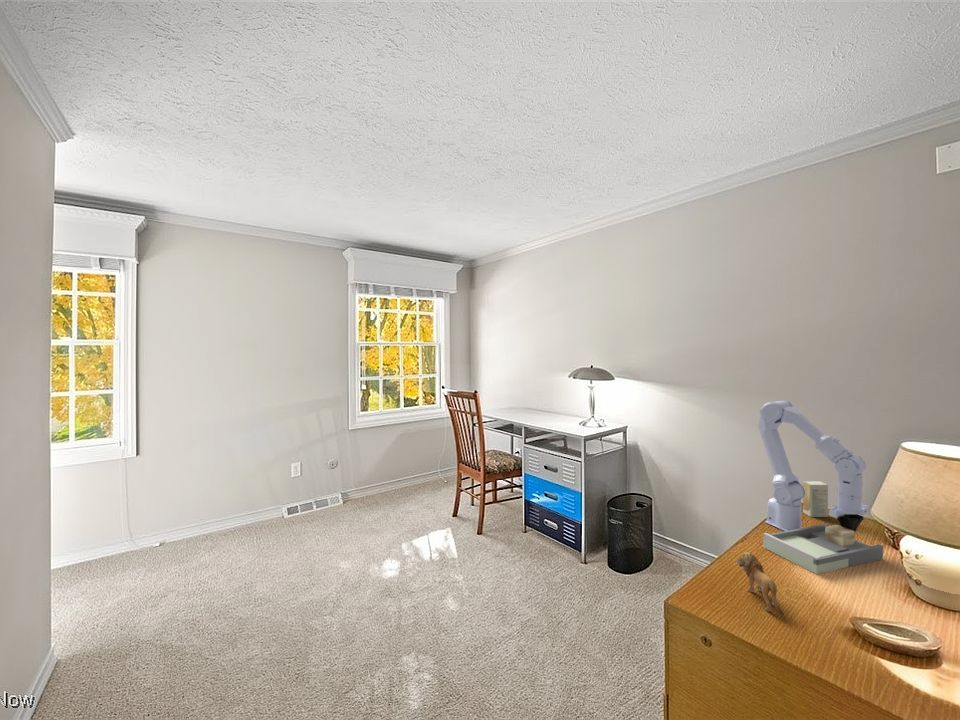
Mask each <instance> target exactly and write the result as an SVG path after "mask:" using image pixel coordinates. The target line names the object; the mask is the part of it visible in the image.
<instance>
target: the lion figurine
mask: <svg viewBox="0 0 960 720" xmlns="http://www.w3.org/2000/svg"><path fill="white" fill-rule="evenodd" d="M742 554H743V555H741V556H740V557H739V558H736V559H735V562H736V563H737V565H738V566H739V568H741V567H742V570H743V571H744V572H745V573H746V576H747V578H748V582H749V583H748V584H749V587H748V588H747V592H750V593H754V592H755V586H754V585H755V584H757V587H756V590H757V591H758V592H762V596H763V599H764V602H765V603H766V607H765V608H764V609H765V611H766V612H772V606H774V607H775V609H776V611H777V612H778V614H780V615H782V616H783V615H784V612H783V611H782V610H781V609H780V608H779V607H778V603H777V602H778V601H777V591H778V590H777V585H776V582H775V581H774V579H773V578H771V577H769V576H768V575H767V573H765V571H764V568H763V565H762V564H761V562H760V561H759V560H758V559H757V557H756V556H754V554H752V552H751V553H750V552H747V551H745V552H743V553H742ZM769 593H770V594H771V598H772V601H771V602H770V600H769Z"/></svg>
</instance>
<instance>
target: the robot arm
mask: <svg viewBox="0 0 960 720" xmlns="http://www.w3.org/2000/svg"><path fill="white" fill-rule="evenodd" d="M759 413H760V416H759V419H758V425H757V426H758V430H759V433H760V436H761V439H762V443H763V445H764V449H765V452H766V454H767V457H768V460H769V464H770V467H771V470H772V472H773V479H772V481H771V484H772V486H773V487H772V488H773V489H772V496H773V497H771V498H770V499H769V500H768V501H767V505H766V506H767V507H766V520H765V521H764V522H765V524H768V525H770V526H773V527H774V528H776V529H777V528H778V529H779V530H781V531H788V530H793V529H799V528H804V527H803V526H802V512H803V505H802V504H803V502H802V499H803V497H804V496H805V489H804V487H803V484H802V483H800V481H799V477H798V476H797V475H795V474H794V473H793V471H792V468H791V465H790V462H789V459H788V456H787V453H786V450H785V447H784V445H783V442H782V441H783V440H782V439H781V436H780V432H779V430H778V428H779V426H780V425H781V424H782V423H787V424H792V425H794V426H795V427H796V428H798V429H799V430H800V431H801V432H803V433H804V434H805V435H806V436H808V437H809V438H810V439H811V440H812V441H813V442H814V443H815V448H816V449H818V451H819V452H820V453H821V454H822V455H824V456H825V457H826V458H827V459H828V460H829V461H830V462H832V463H833V464H834V468H835V470H836V472H837V473H838V477H837V499H836V500H837V504H836V505H835V506H834V507H833V508H831V509H828V517H832V518H834V519H837V521H838V522H839V526H842V527H845V528H847V529H850V530H853V531H855V533H856V531H857V529H858V527H859V526H860V525H861V523H862V522H863V521H864V516H866V514H867V513H869V509H870V506H869V505H865V504H863V501H862V500H863V472H864V471H865V470H866V467H867V464H866V462H865V460H864V459H863V457H861V456H860V455H858V454H854V452H853V451H851V450H849V449H848V448H846V447H845V446H844V445H843V444H841V442H840V439H839V438H838V437H833V436H831V435H825V434H824V433H823V432H822V431H821V430H820V429H819V428H817V427H816V425H814V423H812V422H811V421H810V420H809V419H808V418H807V417H806V416H805V414H804V413H802V412H801V411H800V409H799V408H798V407H797V406H795V405H794V404H792V403H791V402H790V401H788V400H786V399H780V400H777V401H769V402H766V403H764V404H763V405H762V406H761V408H760V409H759Z"/></svg>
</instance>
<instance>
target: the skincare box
mask: <svg viewBox="0 0 960 720" xmlns="http://www.w3.org/2000/svg"><path fill="white" fill-rule="evenodd" d="M802 486H803V487H804V489H805V496H804V497H803V498H802V500H803V501H802V504H803V505H802V512H803V513H804V514H806V516H808V517H811V518H828V517H829V484H827V483H825V482H823V481H820V480H819V481H817V480H812V481H811V480H803V484H802Z"/></svg>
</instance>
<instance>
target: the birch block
mask: <svg viewBox="0 0 960 720" xmlns="http://www.w3.org/2000/svg"><path fill="white" fill-rule="evenodd" d="M855 535H856V532H855V531H853V530H850V529H847V528H845V527H842V526H841V525H840V524H832V525H829V526H826V527H825V539H826V540H828V541H831V542H833V543H836V544H838V545H840V546H847V545H852V544H854V540H855Z"/></svg>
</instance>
